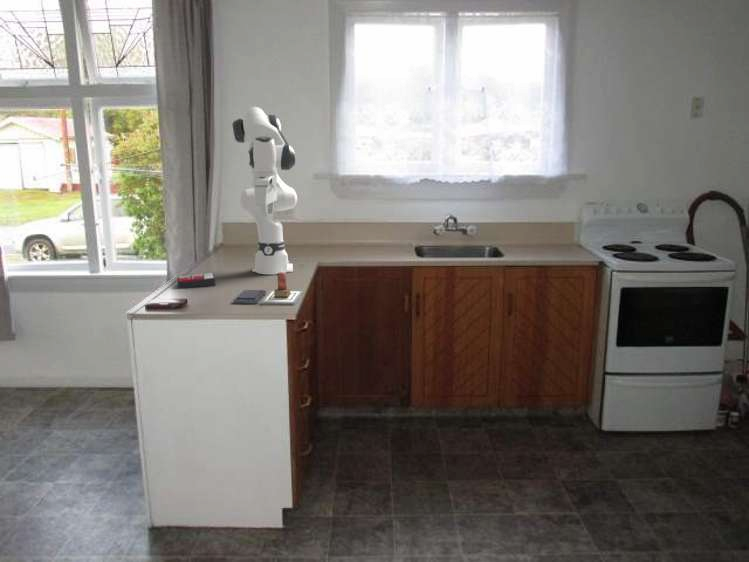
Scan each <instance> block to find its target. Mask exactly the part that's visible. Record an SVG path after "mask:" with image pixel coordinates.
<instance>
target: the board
mask: <svg viewBox="0 0 749 562" xmlns="http://www.w3.org/2000/svg"><path fill="white" fill-rule="evenodd" d="M274 291H275V290H270V291H269V292H268V294H266V295H265V296H264V297H263V298H262V299H261V300H260V301H259V303H260V305H264V306H265V305H268V306H271V305H273V306H274V305H275V306H280V305H281V306H282V305H283V306H286V305H287V306H295V305H296V304H297V302H298V301H299V299H300V298H301V297H302V296H303V294H304V290H290V293H291V294H290V296H289V297H288V298H275V297H274Z"/></svg>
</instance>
